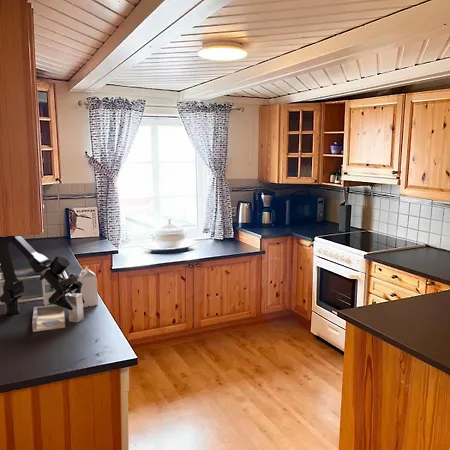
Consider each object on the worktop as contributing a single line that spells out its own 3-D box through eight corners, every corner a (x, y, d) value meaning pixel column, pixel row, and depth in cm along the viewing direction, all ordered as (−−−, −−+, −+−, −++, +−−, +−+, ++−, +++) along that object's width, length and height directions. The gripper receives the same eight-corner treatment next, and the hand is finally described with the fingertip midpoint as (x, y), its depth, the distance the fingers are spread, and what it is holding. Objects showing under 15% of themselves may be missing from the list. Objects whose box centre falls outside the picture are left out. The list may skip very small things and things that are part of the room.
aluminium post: (69, 321, 204) (67, 295, 202) (75, 317, 209) (73, 292, 206) (77, 322, 203) (76, 296, 201) (83, 318, 207) (82, 293, 205)
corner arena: (34, 315, 212) (33, 307, 211) (64, 311, 216) (63, 303, 215) (32, 331, 193) (32, 322, 192) (65, 327, 198) (64, 318, 197)
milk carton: (95, 301, 230) (93, 264, 227) (98, 305, 224) (96, 268, 221) (80, 303, 227) (78, 266, 224) (83, 307, 221) (80, 270, 218)
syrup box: (45, 307, 221) (43, 279, 219) (43, 304, 226) (41, 276, 224) (58, 305, 224) (55, 277, 221) (55, 302, 229) (53, 274, 226)
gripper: (51, 275, 194) (76, 302, 193) (77, 264, 212) (100, 288, 210) (37, 291, 198) (61, 318, 196) (64, 279, 215) (86, 303, 214)
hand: (78, 306), depth 204 cm, fingers open, 9 cm apart
